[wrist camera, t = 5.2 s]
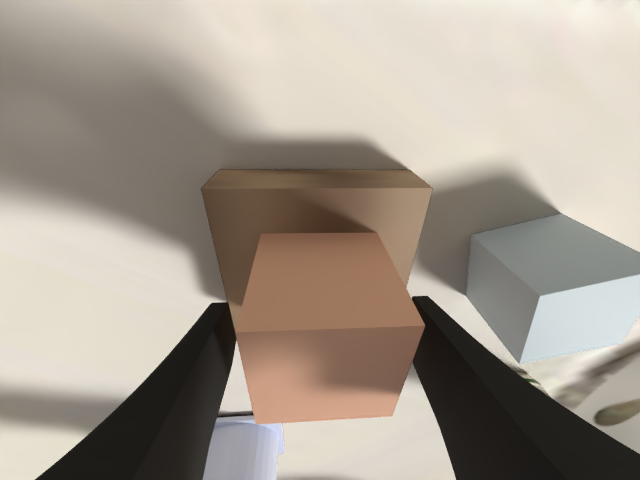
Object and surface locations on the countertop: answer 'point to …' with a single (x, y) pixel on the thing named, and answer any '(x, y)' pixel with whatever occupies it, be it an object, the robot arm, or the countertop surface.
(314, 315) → the terracotta cube
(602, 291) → the slate cube
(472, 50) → the countertop surface
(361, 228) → the walnut slab
